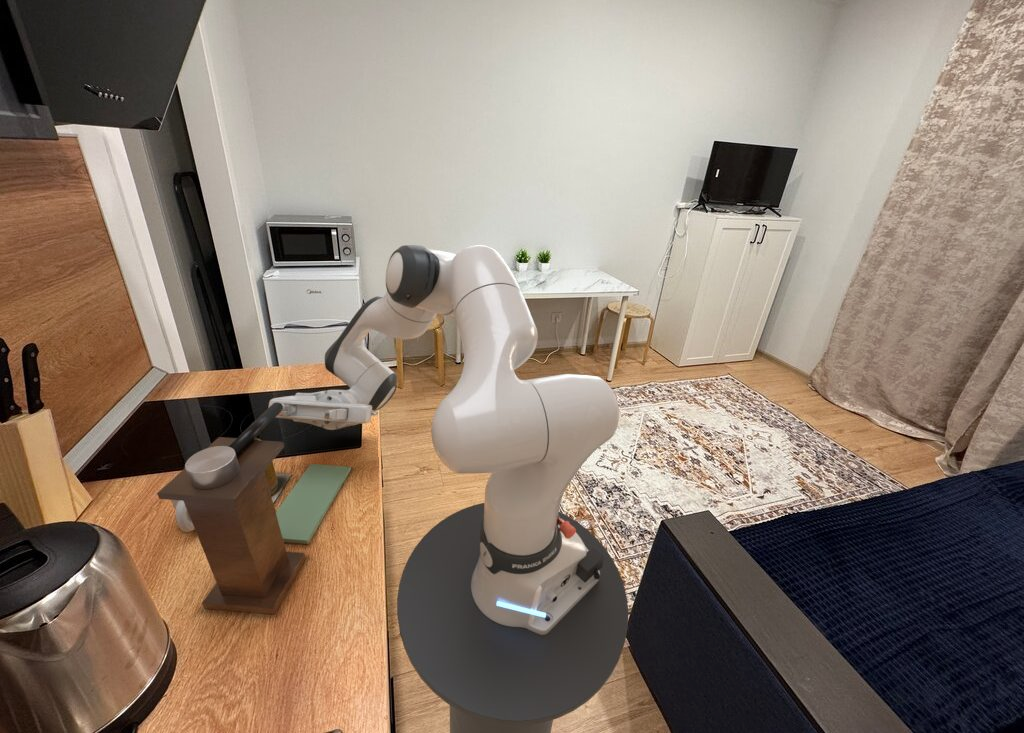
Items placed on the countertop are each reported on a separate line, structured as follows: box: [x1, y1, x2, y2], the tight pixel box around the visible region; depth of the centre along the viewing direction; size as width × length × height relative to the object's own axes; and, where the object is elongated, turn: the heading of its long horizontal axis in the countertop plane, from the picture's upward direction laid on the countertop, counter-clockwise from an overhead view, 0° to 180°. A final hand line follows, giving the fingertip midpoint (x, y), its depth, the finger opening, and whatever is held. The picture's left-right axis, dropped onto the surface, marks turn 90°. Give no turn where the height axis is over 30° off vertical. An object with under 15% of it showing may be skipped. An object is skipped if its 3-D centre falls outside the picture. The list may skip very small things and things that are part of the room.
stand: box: [156, 436, 306, 615], centre depth 64 cm, size 12×11×24 cm
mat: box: [275, 463, 352, 545], centre depth 84 cm, size 20×9×1 cm, turn 178°
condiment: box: [254, 437, 292, 504], centre depth 84 cm, size 7×8×12 cm
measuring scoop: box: [184, 402, 283, 489], centre depth 62 cm, size 19×6×3 cm, turn 178°
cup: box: [170, 500, 195, 533], centre depth 77 cm, size 7×10×9 cm
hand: (303, 412), depth 79 cm, fingers open, 8 cm apart
